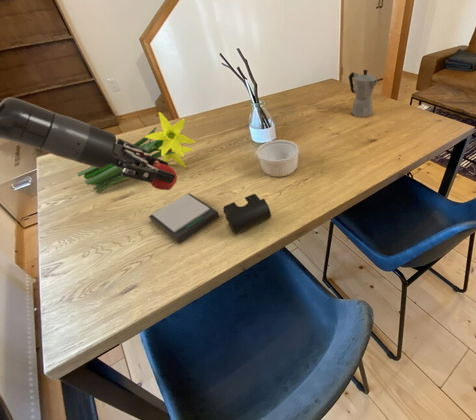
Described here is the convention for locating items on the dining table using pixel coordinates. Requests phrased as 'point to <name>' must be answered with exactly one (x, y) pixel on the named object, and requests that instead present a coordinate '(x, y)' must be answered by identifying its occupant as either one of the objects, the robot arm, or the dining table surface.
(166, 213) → the kitchen scale
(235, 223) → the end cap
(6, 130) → the robot arm
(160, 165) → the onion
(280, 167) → the ramekin
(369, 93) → the coffeepot
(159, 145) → the daffodil flowers
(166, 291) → the dining table surface
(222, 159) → the dining table surface
